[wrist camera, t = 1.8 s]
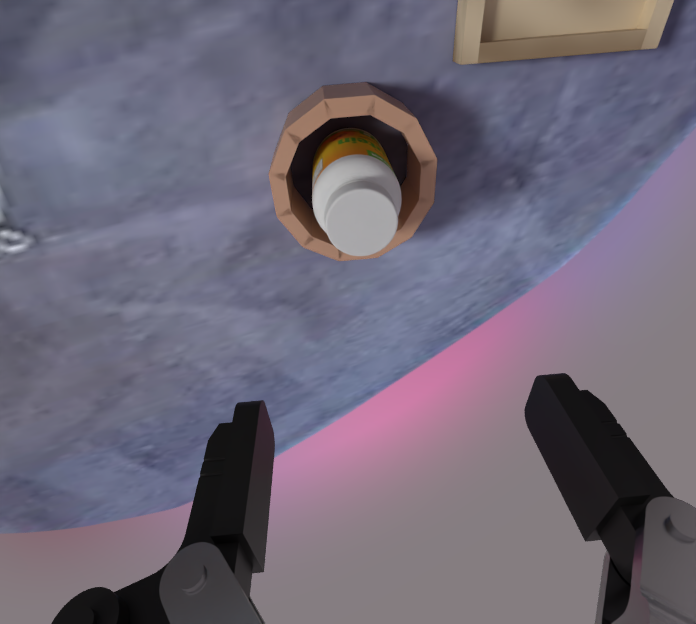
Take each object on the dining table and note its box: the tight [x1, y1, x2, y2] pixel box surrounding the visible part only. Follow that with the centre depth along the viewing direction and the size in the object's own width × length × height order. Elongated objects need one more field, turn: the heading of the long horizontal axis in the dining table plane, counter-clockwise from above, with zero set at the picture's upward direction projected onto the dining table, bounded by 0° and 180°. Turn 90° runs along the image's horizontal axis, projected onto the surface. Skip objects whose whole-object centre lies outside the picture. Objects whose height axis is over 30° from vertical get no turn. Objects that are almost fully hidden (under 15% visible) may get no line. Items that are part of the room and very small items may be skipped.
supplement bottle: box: [312, 128, 402, 256], centre depth 25 cm, size 5×5×10 cm
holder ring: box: [269, 82, 437, 261], centre depth 27 cm, size 10×10×4 cm
